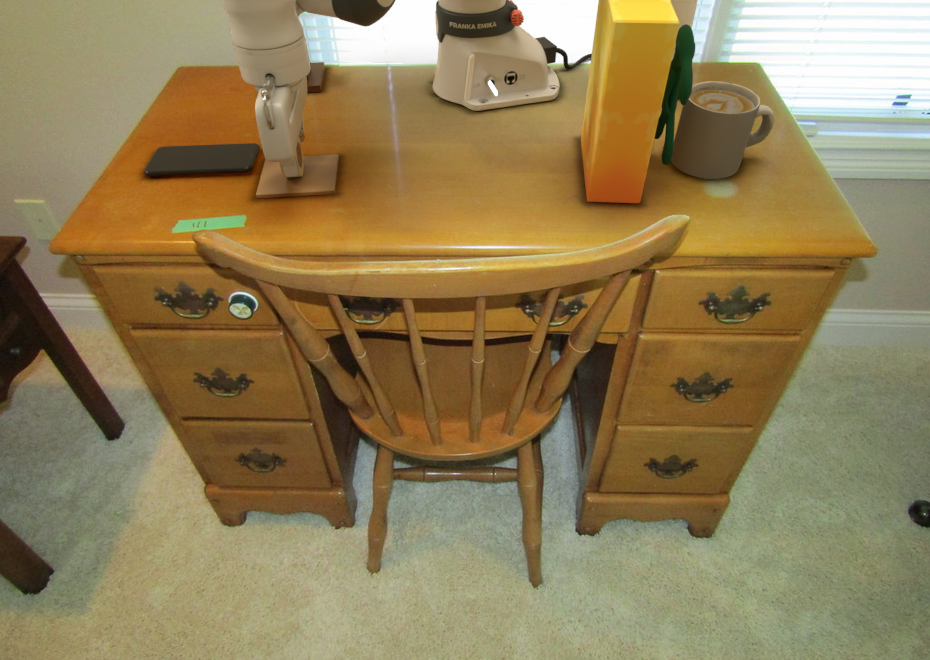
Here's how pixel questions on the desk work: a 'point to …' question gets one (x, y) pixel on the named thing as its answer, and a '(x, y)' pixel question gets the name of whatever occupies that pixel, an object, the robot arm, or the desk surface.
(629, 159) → the mottled yellow carton
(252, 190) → the desk surface
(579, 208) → the desk surface
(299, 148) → the tape roll
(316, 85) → the stand
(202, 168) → the smartphone
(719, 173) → the coffee mug
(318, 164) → the cork pad
